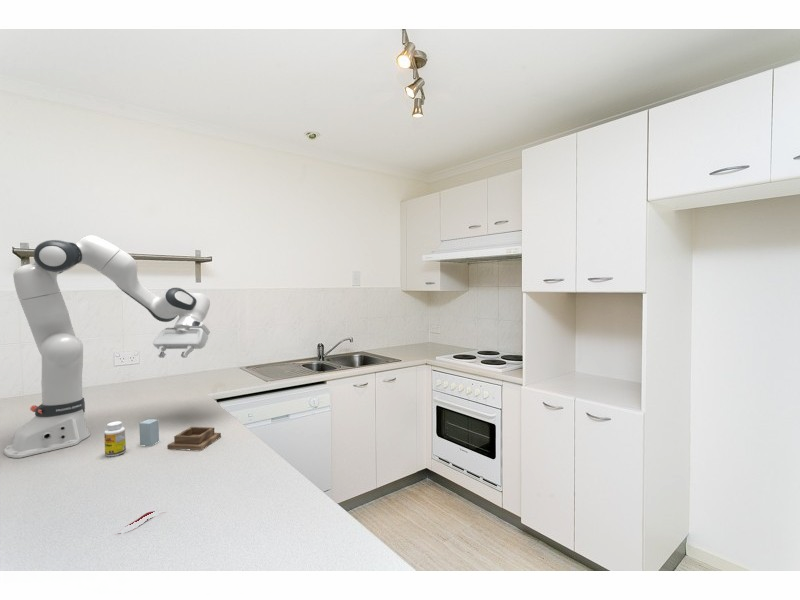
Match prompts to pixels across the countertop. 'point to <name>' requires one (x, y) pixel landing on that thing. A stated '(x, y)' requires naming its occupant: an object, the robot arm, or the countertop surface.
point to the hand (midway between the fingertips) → (172, 356)
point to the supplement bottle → (114, 439)
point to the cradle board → (194, 438)
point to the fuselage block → (149, 432)
